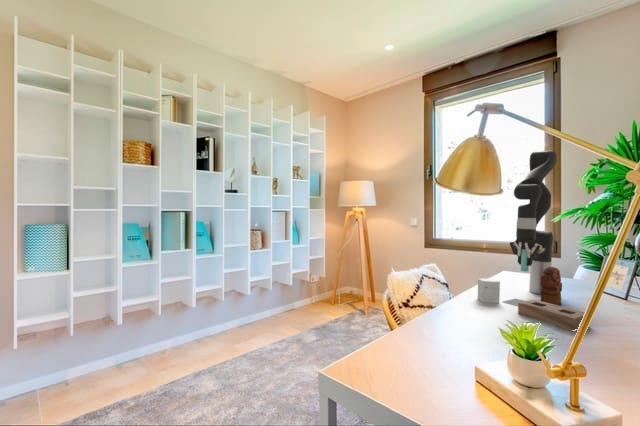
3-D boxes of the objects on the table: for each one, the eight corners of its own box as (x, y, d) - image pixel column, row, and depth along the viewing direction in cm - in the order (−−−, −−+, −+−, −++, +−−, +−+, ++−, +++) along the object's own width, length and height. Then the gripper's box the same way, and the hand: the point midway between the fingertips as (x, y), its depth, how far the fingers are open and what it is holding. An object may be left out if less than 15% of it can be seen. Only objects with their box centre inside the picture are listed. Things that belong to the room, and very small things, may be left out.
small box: (494, 300, 153) (494, 278, 153) (499, 303, 147) (500, 281, 147) (477, 299, 154) (477, 278, 153) (481, 302, 148) (482, 280, 148)
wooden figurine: (554, 309, 141) (556, 269, 140) (538, 305, 146) (539, 267, 145) (564, 304, 147) (565, 267, 147) (548, 301, 153) (549, 264, 152)
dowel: (522, 269, 147) (523, 248, 146) (529, 271, 144) (530, 249, 144) (519, 270, 145) (520, 248, 145) (526, 271, 142) (527, 249, 142)
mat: (515, 299, 155) (515, 298, 155) (542, 306, 145) (542, 305, 145) (501, 302, 149) (501, 301, 149) (528, 310, 139) (528, 309, 139)
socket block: (533, 310, 139) (533, 299, 139) (588, 326, 121) (589, 313, 121) (517, 314, 133) (518, 302, 133) (574, 331, 115) (575, 318, 115)
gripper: (547, 228, 140) (545, 267, 140) (515, 226, 152) (513, 261, 152) (538, 229, 136) (537, 268, 136) (506, 226, 148) (504, 263, 149)
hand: (524, 264), depth 144 cm, fingers closed on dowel, 3 cm apart
